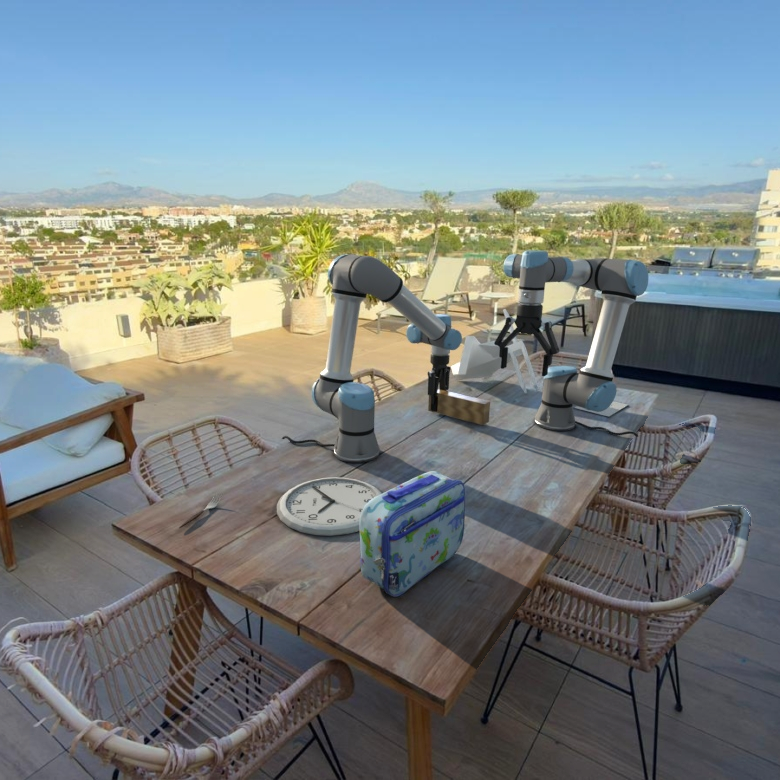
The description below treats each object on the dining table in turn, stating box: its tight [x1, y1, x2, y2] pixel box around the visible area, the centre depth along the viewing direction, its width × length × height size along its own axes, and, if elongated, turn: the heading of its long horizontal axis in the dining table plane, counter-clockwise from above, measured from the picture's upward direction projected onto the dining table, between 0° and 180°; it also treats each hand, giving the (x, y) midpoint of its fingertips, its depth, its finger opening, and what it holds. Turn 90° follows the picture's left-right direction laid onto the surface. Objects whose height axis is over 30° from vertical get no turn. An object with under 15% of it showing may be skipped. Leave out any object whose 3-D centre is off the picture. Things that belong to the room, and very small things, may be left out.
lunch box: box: [358, 470, 466, 598], centre depth 113 cm, size 26×11×21 cm, turn 135°
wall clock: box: [276, 476, 384, 537], centre depth 142 cm, size 30×2×30 cm
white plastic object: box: [450, 308, 540, 394], centre depth 253 cm, size 37×45×31 cm
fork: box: [178, 493, 223, 529], centre depth 137 cm, size 3×16×2 cm, turn 160°
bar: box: [427, 388, 491, 426], centre depth 207 cm, size 25×5×8 cm, turn 52°
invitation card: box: [573, 400, 629, 418], centre depth 226 cm, size 21×1×15 cm
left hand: (437, 409), depth 214 cm, fingers closed on bar, 5 cm apart
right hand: (523, 371), depth 164 cm, fingers open, 13 cm apart
